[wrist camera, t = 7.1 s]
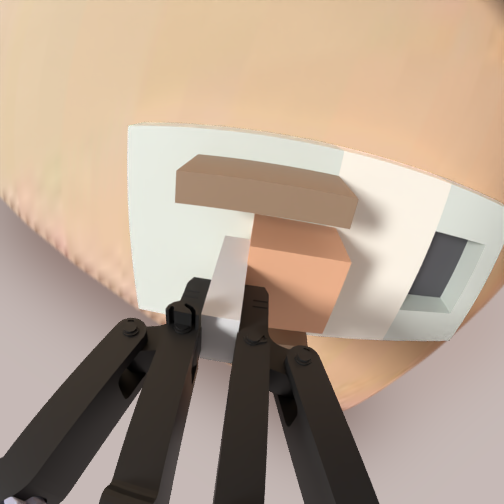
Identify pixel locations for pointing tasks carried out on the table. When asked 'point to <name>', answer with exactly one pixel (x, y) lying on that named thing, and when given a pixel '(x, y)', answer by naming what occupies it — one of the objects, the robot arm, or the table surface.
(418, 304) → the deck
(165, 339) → the robot arm
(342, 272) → the block
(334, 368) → the table surface
